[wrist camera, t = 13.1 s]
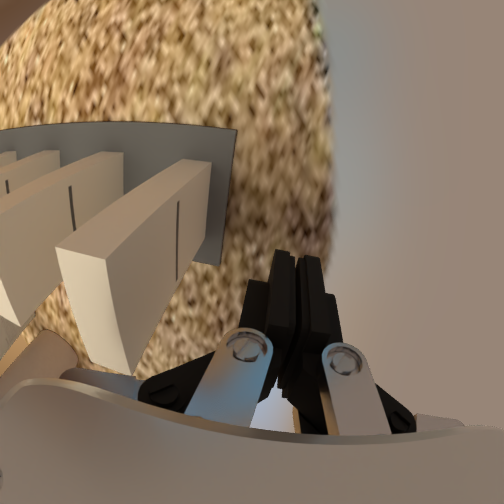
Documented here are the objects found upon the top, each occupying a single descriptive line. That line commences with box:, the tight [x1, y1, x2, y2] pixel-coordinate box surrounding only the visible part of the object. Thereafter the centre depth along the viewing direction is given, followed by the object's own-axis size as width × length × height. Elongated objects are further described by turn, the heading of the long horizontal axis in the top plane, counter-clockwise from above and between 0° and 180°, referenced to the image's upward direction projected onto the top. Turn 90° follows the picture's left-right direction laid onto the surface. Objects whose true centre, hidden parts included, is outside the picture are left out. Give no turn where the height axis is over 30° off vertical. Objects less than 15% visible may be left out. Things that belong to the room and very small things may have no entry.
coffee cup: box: [0, 330, 78, 400], centre depth 23 cm, size 10×10×15 cm
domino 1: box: [0, 150, 60, 198], centre depth 13 cm, size 5×2×11 cm, turn 171°
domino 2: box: [0, 151, 124, 327], centre depth 12 cm, size 5×2×11 cm, turn 171°
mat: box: [0, 122, 237, 266], centre depth 18 cm, size 9×29×1 cm, turn 81°
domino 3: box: [55, 159, 212, 376], centre depth 12 cm, size 5×2×11 cm, turn 172°
